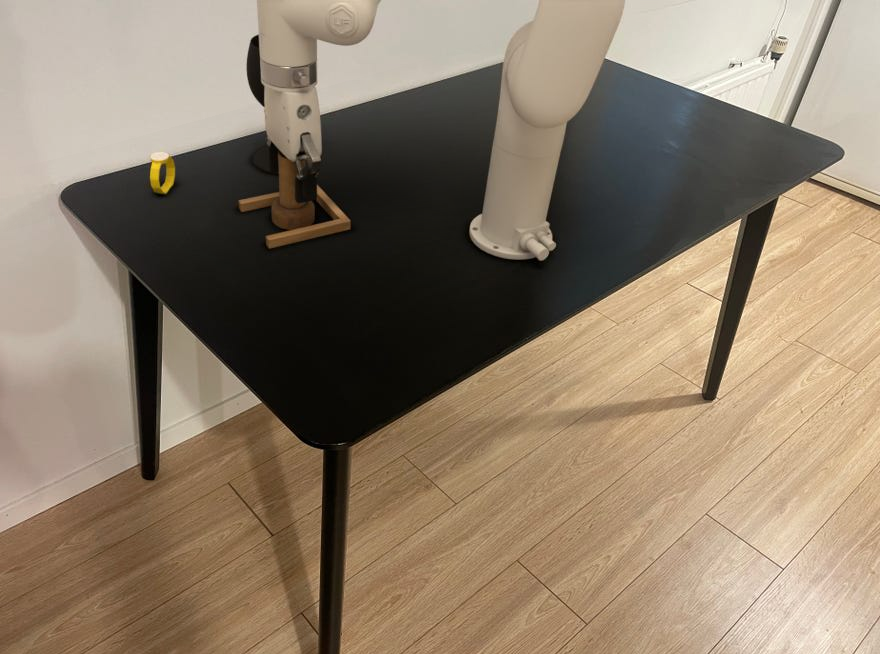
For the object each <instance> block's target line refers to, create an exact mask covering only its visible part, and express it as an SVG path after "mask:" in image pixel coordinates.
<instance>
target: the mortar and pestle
mask: <svg viewBox="0 0 880 654" xmlns="http://www.w3.org/2000/svg"><path fill="white" fill-rule="evenodd" d="M300 155H305V151H303V152H299V153H298V154H297V156H300ZM278 163H279V175H278V183H279V184H278V188H279V189H278V190H279V191H278V192H279V198H278V199H276V200H275V201H274V202H273V203H272V206H271V221H272V223H273V224H274V226H276V227H277V228H280V229H282V230H286V231H290V230H295V229H299V228H303V227H307V226H312V225H314V223H315V217H316V215H315V214H316V213H315V212H316V211H315V209H316V208H315V203H314V202H313V200H312V201H308V202H303V203H297V202H296V201H295V177H297V173H296V170H295V166H294V163H293V161H291V160H289V159H288V158H287V157H286V156H285V155H284V154H283V153H282V152H281V151H280V150H279V151H278ZM300 164H301V168H302V169H303V168H304V167H305V161H300Z"/></svg>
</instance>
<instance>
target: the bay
mask: <svg viewBox="0 0 880 654" xmlns="http://www.w3.org/2000/svg"><path fill="white" fill-rule="evenodd" d="M278 198H279V191H277V192H272V193H267V194H262V195H258V196H254V197H253V196H252V197H248V198H244V199H239V200H238V209H239V210H240V212H241V213H244V212H249V211H254V210H259V209H263V208H267V207H272V203H273V202H274V201H275V200H276V199H278ZM315 201H316V202H317V203H318V204H319V205H320V206H321V208H322V209H324V211H325V212H326V213H327V214H328V215H329V216H330V218H331V219H332V220H330V221H329V220H328V221H325V222H321V223H317V224H312V225H310V226H307V227H303V228H299V229H295V230H286V231H282V232H277V233H273V234H269V235H266V236H265V245H266V246H267V248H268V249H275V248H278V247H282V246H287V245H291V244H295V243H299V242H304V241H309V240H312V239H316V238H320V237H323V236H329V235H332V234H335V233H336V234H337V233H342V232H345V231H348V230H351V227H352V226H351V225H352V224H351V223H352V222H351V219H350V218H349V217H348V216H347V215H346V214H345V213H344V212H343V211H342V210H341V209H340V207H339V206H338V205H337V204H336V203H335V202H334V201H333V200H332V199H331V198H330V196H328V195H327V193H326V192H325V191H324V190H323V189H322V188H321V187H320V186H319V184H317V199H316V200H315Z"/></svg>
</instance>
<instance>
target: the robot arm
mask: <svg viewBox="0 0 880 654" xmlns="http://www.w3.org/2000/svg"><path fill="white" fill-rule="evenodd" d="M381 1H382V0H256V9H257V10H256V11H257V31H258V34H259V48H260V66H261V82H262V84H263V85H264V86H265V90H264V107H263V113H264V114H263V115H264V124H265V126H264V127H265V131H266V135H267V137H266V144H267V147H268V146H271V147H268V159H269V171H270V172H271V173H274V172H279V163H278V151H279V150H280V151H281V152H282V153H283V154H284V155H285V156H286V157H287V158H288V159H289V160H291V161H293V163H294V166H295V170H296V173H297V177H295V201H296V202H297V203H303V202H308V201H312V202H313V201H316V199H317V185H318V176H319V173H320V170H321V169H320V165H321V162H322V159H321V156H322V153H323V144H322V143H323V142H322V139H323V138H322V121H321V112H320V103H319V102H320V101H319V97H318V91H317V87H316V85H318V41H321V42H325V43H328V44H332V45H337V46H341V47H342V46H344V47H347V46H349V47H350V46H355V45H358V44H359V43H361V42H363V41H364V40H366V38H367V37H368V36H369V35H370V34H371V31H372V29H373V26H374V24H375V19H376V15H377V10H378V6H379V4H380V2H381ZM625 5H626V0H539V1H538V4H537V8H536V12H535V14H534V17H533V20H531V21H529V22H527V23H525V24H523V25H522V26H521V27H519V29H517V30H516V32H515V33H514V34H513V35H512V37H511V39H510V40H509V42H508V44H507V47H506V49H505V53H504V57H503V62H502V63H503V64H502V71H501V72H502V73H501V82H500V92H499V100H498V109H497V115H496V123H495V129H494V136H493V141H492V147H491V154H490V161H489V166H488V167H489V168H488V173H487V180H486V187H485V193H484V199H483V205H482V213H480V214H479V215H477V216H476V217H474V218H473V219H472V221H471V222H470V224H469V232H468V234H469V238H470V241H472V242H473V244H474V245H475V246H476V247H477V248H479V249H480V250H482V251H483V252H484V253H487V254H489V255H492V256H493V257H498V258H501V259H506V260H517V261H519V260H530V259H535V258H536V259H537V260H538V261H544V260H546V259H547V258H548V256H549V254H550V252H551V251H553V250H554V249H555V248H556V246H557V243H556V242H555V241H554V240H553V232H552V230H551V229H550V222H548V221H547V216H548V211H549V206H550V203H551V197H552V193H553V188H554V184H555V179H556V174H557V171H558V165H559V160H560V157H561V151H562V149H563V146H564V145H563V144H564V141H565V140H564V139H565V136H566V129H567V126H568V125H567V124H568V122H569V121H570V120H572V119H573V118H574V117H575V116H576V115H577V114H578V113H579V112H580V110H581V109H582V107H583V106H584V104H585V103H586V101H587V99H588V97H589V95H590V93H591V91H592V89H593V87H594V84H595V82H596V80H597V78H598V75H599V72H600V71H601V69H602V66H603V63H604V62H605V58H606V57H607V54H608V52H609V50H610V47H611V45H612V42H613V40H614V38H615V35H616V33H617V30H618V27H619V25H620V22H621V20H622V16H623V13H624V9H625ZM303 151H305V153H306V154H305V155H300V156H297V154H298V153H299V152H303ZM305 160H308V165H307V166H305V167H304V168H303V169H302V168H301V164H300V161H305Z"/></svg>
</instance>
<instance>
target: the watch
mask: <svg viewBox="0 0 880 654" xmlns="http://www.w3.org/2000/svg"><path fill="white" fill-rule="evenodd" d="M149 157H150V158H149V159H150V162H151V165H150V172H149V173H150V174H149V180H150V181H149V182H150V186H151V189H152V190H153V192H154V193H157V194H160V195H167V194H168V192H169V191H170V189H171V188H172V187H173V186H174V184H175V178H176V164H175V161H174V159H173V158H172V156H171V155H169V153H168V152H165V151H155V152H153V153H151V154H150V156H149ZM164 164H165V166H166V168H165V169H166V170H165V172H166V173H165V179H164V183H163V184H162V185H161V183H160V172H161V171H160V170H161V167H162V165H164Z"/></svg>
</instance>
